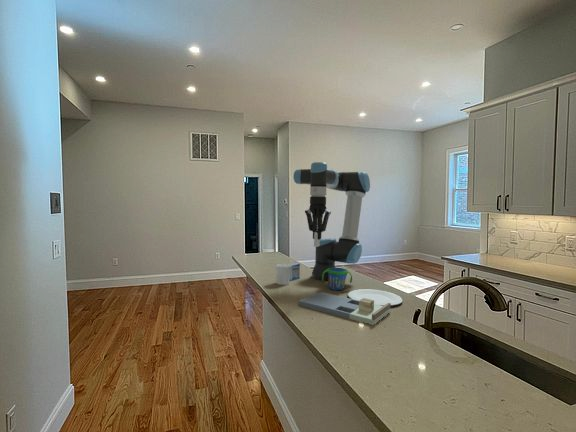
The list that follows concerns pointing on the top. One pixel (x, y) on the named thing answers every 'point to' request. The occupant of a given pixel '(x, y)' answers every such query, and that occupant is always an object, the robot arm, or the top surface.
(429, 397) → the top surface
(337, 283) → the snack cup
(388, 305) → the board
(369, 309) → the maple block
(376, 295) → the plate
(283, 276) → the white cup
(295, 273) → the medicine box
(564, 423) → the top surface
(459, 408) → the top surface
